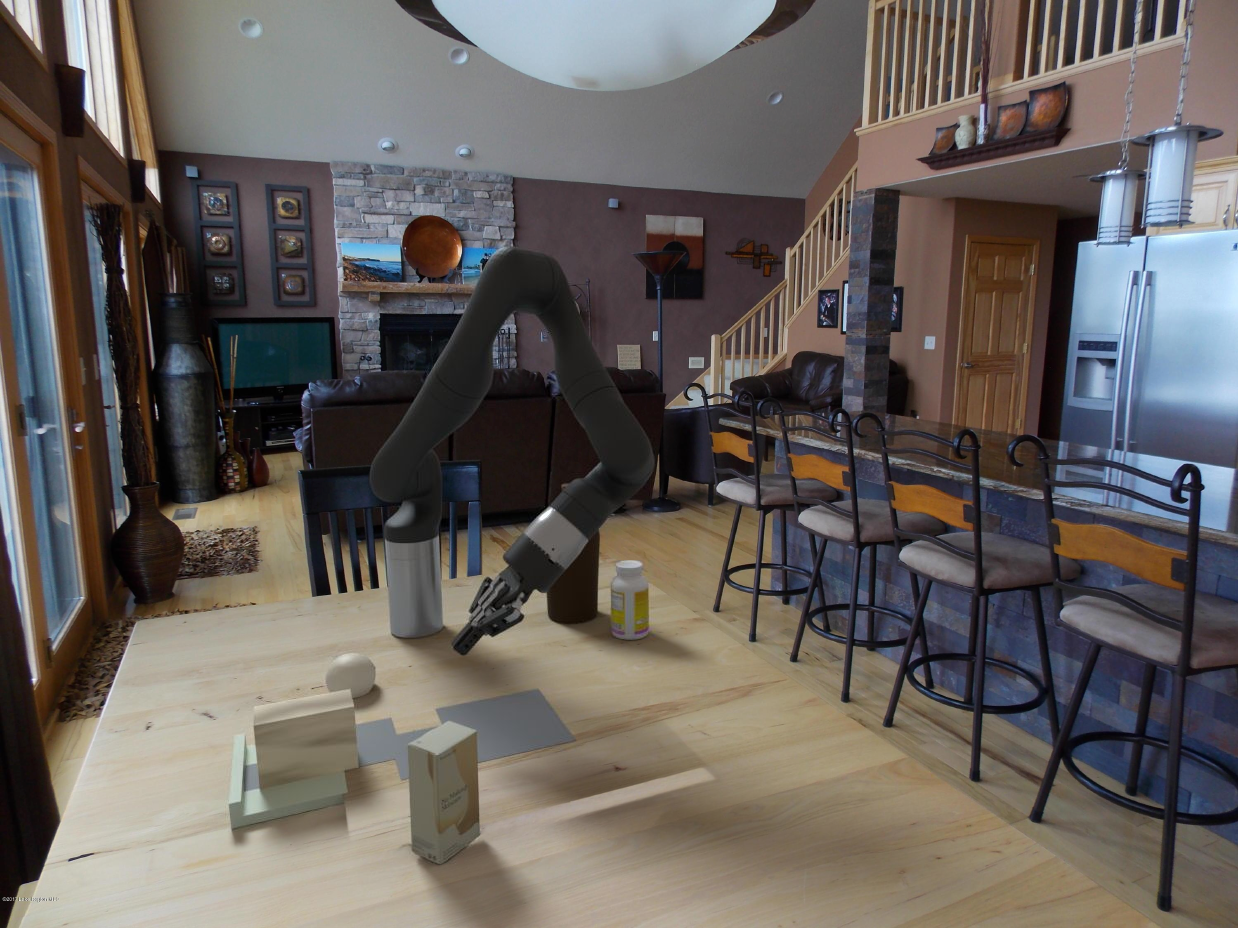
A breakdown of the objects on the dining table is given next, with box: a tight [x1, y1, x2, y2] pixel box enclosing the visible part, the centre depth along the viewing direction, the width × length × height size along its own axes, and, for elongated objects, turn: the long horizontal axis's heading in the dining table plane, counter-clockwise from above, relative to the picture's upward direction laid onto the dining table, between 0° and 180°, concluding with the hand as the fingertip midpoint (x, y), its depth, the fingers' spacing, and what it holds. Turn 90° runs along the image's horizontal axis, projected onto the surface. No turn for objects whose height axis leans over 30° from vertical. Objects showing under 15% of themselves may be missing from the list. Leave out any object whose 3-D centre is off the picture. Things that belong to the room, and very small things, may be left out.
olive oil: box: [545, 482, 601, 624], centre depth 147 cm, size 11×11×25 cm
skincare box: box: [408, 721, 481, 865], centre depth 83 cm, size 6×4×12 cm
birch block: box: [252, 689, 360, 789], centre depth 96 cm, size 5×11×8 cm, turn 114°
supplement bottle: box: [610, 559, 650, 641], centre depth 139 cm, size 7×7×13 cm
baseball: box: [325, 652, 377, 699], centre depth 116 cm, size 7×7×7 cm
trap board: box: [228, 688, 577, 830], centre depth 101 cm, size 16×40×3 cm, turn 113°
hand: (456, 650), depth 102 cm, fingers closed
